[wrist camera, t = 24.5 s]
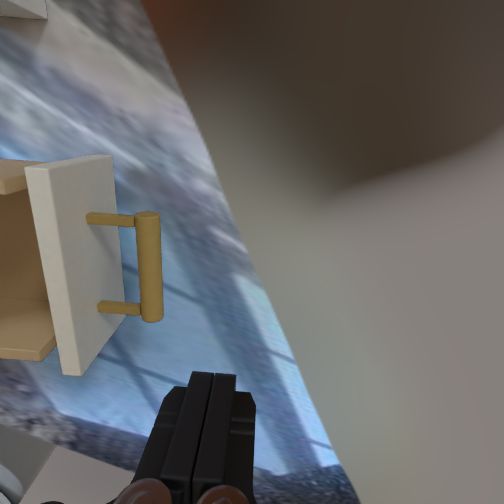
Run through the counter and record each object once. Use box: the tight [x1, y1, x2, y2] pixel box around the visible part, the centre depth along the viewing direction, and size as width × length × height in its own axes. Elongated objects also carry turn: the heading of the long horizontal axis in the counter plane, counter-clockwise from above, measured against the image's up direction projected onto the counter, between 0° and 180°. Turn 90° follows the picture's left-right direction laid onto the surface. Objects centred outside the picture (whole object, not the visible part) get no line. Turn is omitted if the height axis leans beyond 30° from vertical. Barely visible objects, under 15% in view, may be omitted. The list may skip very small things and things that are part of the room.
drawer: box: [0, 154, 164, 376], centre depth 21 cm, size 19×12×7 cm, turn 86°
